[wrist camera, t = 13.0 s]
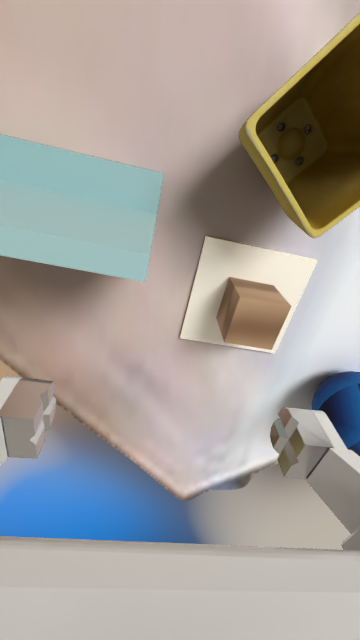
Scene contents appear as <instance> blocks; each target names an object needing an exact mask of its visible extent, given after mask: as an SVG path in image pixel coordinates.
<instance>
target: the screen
mask: <svg viewBox="0 0 360 640" xmlns="http://www.w3.org/2000/svg"><path fill="white" fill-rule="evenodd" d="M163 177H164V173H160V172H156V171H152V170H147V169H143V168H139V167H135V166H131V165H127V164H122V163H118V162H114V161H110V160H106V159H102V158H97V157H93V156H89V155H85V154H81V153H77V152H73V151H68V150H64V149H60V148H56V147H52V146H48V145H43V144H39V143H35V142H31V141H27V140H23V139H18V138H14V137H10V136H6V135H2V134H0V255H1V256H6V257H12V258H17V259H23V260H28V261H33V262H39V263H44V264H50V265H55V266H61V267H66V268H72V269H77V270H82V271H88V272H93V273H99V274H104V275H110V276H115V277H121V278H126V279H131V280H137V281H142V282H146V277H147V271H148V266H149V260H150V254H151V248H152V242H153V236H154V230H155V224H156V218H157V212H158V206H159V201H160V195H161V189H162V183H163Z"/></svg>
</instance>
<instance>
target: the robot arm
mask: <svg viewBox="0 0 360 640" xmlns="http://www.w3.org/2000/svg"><path fill="white" fill-rule="evenodd" d="M55 391H56V385H55V382H54V381H46V380H39V379H32V378H24V377H23V378H22V377H14V376H7V375H6V376H5V377H3V378H2V379H1V381H0V465H1V464H2V463H4V462H5V461H6V460H7V459H8V457H19V458H37V457H38V455H39V453H40V450H41V448H42V446H43V443H44V441H45V431H46V430H48V429H49V428H50V426H51V424H52V422H53V419H54V415H55V411H56V399H55V398H54V397H53V395H54V393H55ZM278 415H279V417H280V419H278V420H276V421H275V422H274V423H273V425H272V427H271V433H270V437H271V443H272V446H273V448H274V449H275V450H276V451H277V452H278V453H279V456H278V459H277V460H278V462H279V465H280V468H281V470H282V473H283V476H284V477H287V478H297V479H306V481H307V482H308V484H310V486H311V487H312V488H313V490H314V491H315V492H316V493H317V494H318V495H319V497H320V498H321V499H322V500H323V501H324V503H325V504H326V505H327V506H328V507H329V508H330V510H331V511H332V512H333V513H334V514H335V515H336V517H337V518H338V519H339V520H340V521H341V523H342V524H343V525H344V526H345V527H346V528H347V530H348V531H349V532H350V533H351V535H350V536H349V537H348V538H347V539H346V540H344V541H343V543H342V548H343V550H332V549H307V548H282V547H257V546H232V545H231V546H230V545H207V544H206V545H205V544H183V543H181V544H180V543H156V542H132V541H106V540H82V539H56V538H31V537H5V536H0V640H360V456H358V455H357V454H356V453H355V452H353V451H352V450H348V449H347V447H346V446H345V444H344V443H343V441H342V439H341V438H340V436H339V434H338V433H337V431H336V430H335V428H334V426H333V425H332V423H331V421H330V420H329V418H328V417H327V415H326V414H325V413H324V412H323V411H318V410H307V409H298V408H288V407H284V408H282V409H281V410H280V412H279V414H278Z"/></svg>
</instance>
